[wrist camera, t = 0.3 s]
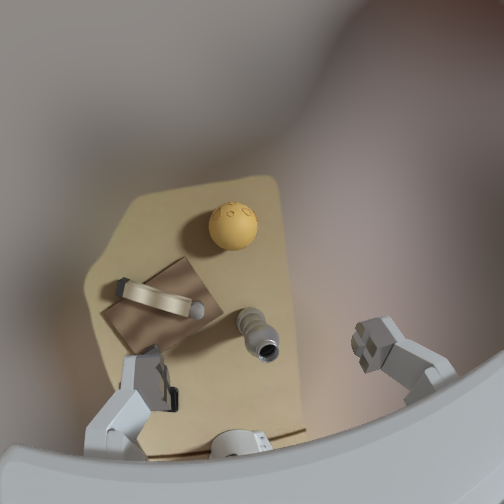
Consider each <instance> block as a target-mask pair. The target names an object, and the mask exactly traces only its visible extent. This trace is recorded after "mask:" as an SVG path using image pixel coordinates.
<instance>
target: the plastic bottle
mask: <svg viewBox="0 0 504 504" xmlns="http://www.w3.org/2000/svg"><path fill="white" fill-rule="evenodd" d="M236 326H237V329H238V331H239V332H240V333H241V334H242V335H243V336H244V338H245V346H246V349H247V351H248V352H249V353H250V354H251V355H253V356H255V357H258V358H259V359H260V360H261V361H263V362H266V363H269V362H272V361H274V360H275V359H276V358H277V357H278V355H279V348H278V345H279V335H278V332H277V331H276V330H275V329H274V328H273V327H272V326H270V325H268V324H267V323H266V321H265V317H264V315H263V313H262V312H261V311H260V310H258V309H256V308H252V307H250V308H246V309H243V310H242V311H241V312H240V313H239V314H238V316H237V319H236Z"/></svg>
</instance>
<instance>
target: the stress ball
mask: <svg viewBox="0 0 504 504" xmlns="http://www.w3.org/2000/svg"><path fill="white" fill-rule="evenodd" d="M257 221H258V220H257V217H256V214H255V213H254V211H251V210H250V209H249V208H248V207H247V206H245V205H243V204H241V203H237V202H230V203H225V204H223V205H221V206H219V207H218V208H217V209H215V210H214V211H213V212H212V214H211V218H210V220H209V222H208V226H209V232H210V235H211V237H212V239H213V241H214V242H215V243H216V244H217V245H218V246H220V247H221V248H223V249H226V250H230V251H235V250H240V249H243V248H245V247H247V246H248V245H249V244H250V243H251V242H252V241H253V239H254V238H255V235H256V232H257Z"/></svg>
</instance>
